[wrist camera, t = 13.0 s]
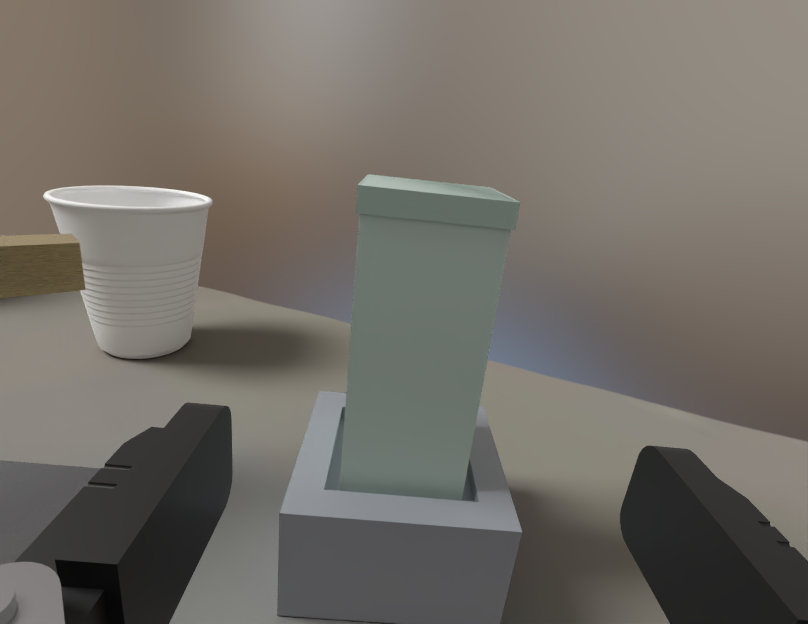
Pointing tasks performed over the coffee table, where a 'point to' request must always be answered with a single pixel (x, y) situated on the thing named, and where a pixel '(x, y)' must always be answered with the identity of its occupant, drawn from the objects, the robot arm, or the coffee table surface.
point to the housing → (393, 539)
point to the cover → (420, 332)
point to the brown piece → (40, 265)
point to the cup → (136, 262)
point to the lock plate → (34, 501)
